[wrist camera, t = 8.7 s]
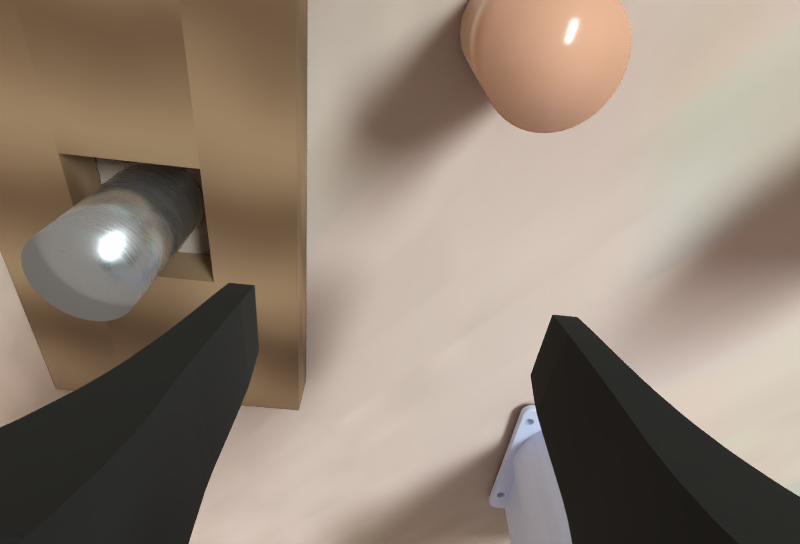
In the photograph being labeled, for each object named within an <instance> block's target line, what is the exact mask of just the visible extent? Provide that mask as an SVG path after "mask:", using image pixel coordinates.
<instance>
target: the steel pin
mask: <svg viewBox="0 0 800 544" xmlns="http://www.w3.org/2000/svg"><path fill="white" fill-rule="evenodd" d="M204 209H205V206H204V198H203V195H202V192H201V190H200V188H199V186H198V185H197V183H196V182H195V181H194V179H193V178H192V177H191V176H190V175H189V174H188V173H187V172H185V171H184V170H183V169H181V168H180V167H178V166H169V165H160V164H150V163H141V162H133V163H131V164H130V165H128V166H127V167H126V168H124V169H123V170H121V171H120V172H119V173H117V174H116V175H115V176H113V177H112V178H111V179H109V180H108V181H107V182H105V183H104V184H103V185H101V186H100V187H99V188H97V189H96V190H95V191H93V192H92V193H91V194H89V195H88V196H87V197H85V198H84V199H83V200H81V201H80V202H79V203H77V204H76V205H75V206H73V207H72V208H70V209H69V210H68V211H66V212H65V213H64V214H62V215H61V216H60V217H58V218H57V219H56V220H54V221H53V222H52V223H50V224H49V225H48V226H46V227H45V228H44V229H42V230H41V231H40V232H38V233H37V234H36V235H34V236H33V237H32V238H31V239H29V240H28V241H27V243H26V244H25V246H24V248H23V250H22V254H21V263H22V268H23V272H24V274H25V276H26V278H27V280H28V282H29V283H30V285H31V286H32V287H33V289H34V290H35V291H36V292H37V293H38V294H39V295H40V296H41V297H42V298H43V299H44V300H46V301H47V302H48V303H50V304H51V305H52V306H54V307H56V308H57V309H59V310H61V311H63V312H65V313H67V314H69V315H72V316H75V317H78V318H81V319H86V320H92V321H109V320H114V319H117V318H120V317H122V316H124V315H126V314H127V313H128V312H129V311H130V310H131V309H132V308H133V307H134V306H135V304H136V303H137V302H138V301H139V299H140V298H141V297H142V296H143V294H144V293H145V292H146V290H147V289H148V288H149V287H150V285H151V284H152V283H153V282H154V280H155V279H156V278H157V276H158V275H159V274H160V273H161V271H162V270H163V269H164V268H165V266H166V265H167V264H168V263H169V261H170V260H171V259H172V257H173V256H174V255H175V254H176V252H177V251H178V250H179V249H180V247H181V246H182V245H183V243H184V242H185V241H186V240H187V238H188V237H189V236H190V235H191V233H192V232H193V231H194V229H195V228H196V227H197V226H198V224H199V223H200V222H201V220H202V218H203V215H204Z"/></svg>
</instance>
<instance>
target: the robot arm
mask: <svg viewBox="0 0 800 544" xmlns="http://www.w3.org/2000/svg"><path fill="white" fill-rule="evenodd" d="M258 352H259V341H258V326H257V311H256V297H255V285H248V284H237V283H228V284H227V285H225V286H224V287H223V288H221V289H220V290H219V291H217V292H216V293H215V294H214V295H212V296H211V297H210V298H209V299H207V300H206V301H205V302H204V303H203V304H201V305H200V306H199V307H198V308H196V309H195V310H194V311H193V312H191V313H190V314H189V315H188V316H186V317H185V318H184V319H182V320H181V321H180V322H179V323H177V324H176V325H175V326H173V327H172V328H171V329H169V330H168V331H167V332H166V333H164V334H163V335H162V336H160V337H159V338H157V339H156V340H154V341H153V342H152V343H150V344H149V345H147V346H146V347H144V348H143V349H142V350H140V351H139V352H137V353H136V354H134V355H133V356H132V357H130V358H129V359H127V360H126V361H124V362H122V363H121V364H119V365H118V366H116V367H115V368H113V369H111V370H110V371H108V372H107V373H105V374H103V375H101V376H100V377H98V378H96V379H95V380H93V381H91V382H89V383H88V384H86V385H84V386H83V387H81V388H79V389H77V390H75V391H73V392H72V393H70V394H68V395H66V396H64V397H62V398H60V399H58V400H56V401H54V402H52V403H50V404H48V405H46V406H44V407H42V408H40V409H38V410H36V411H34V412H32V413H30V414H28V415H26V416H24V417H22V418H20V419H18V420H16V421H14V422H12V423H10V424H7V425H5V426H3V427H1V428H0V544H189V540H190V537H191V534H192V530H193V527H194V524H195V521H196V518H197V515H198V512H199V508H200V505H201V502H202V499H203V496H204V493H205V490H206V487H207V484H208V482H209V479H210V477H211V474H212V471H213V469H214V467H215V464H216V462H217V460H218V457H219V455H220V453H221V450H222V448H223V446H224V443H225V441H226V439H227V437H228V434H229V432H230V430H231V427H232V425H233V423H234V420H235V418H236V416H237V413H238V411H239V409H240V406H241V404H242V402H243V399H244V397H245V394H246V392H247V390H248V387H249V384H250V380H251V377H252V374H253V370H254V367H255V363H256V359H257V356H258ZM531 381H532V388H533V395H534V401H535V405H528V406H525V407H524V408H523V409H522V410H521V413H520V416H519V418H518V421H517V424H516V426H515V429H514V432H513V435H512V437H511V440H510V443H509V445H508V448H507V451H506V454H505V456H504V459H503V462H502V464H501V467H500V470H499V472H498V475H497V478H496V481H495V483H494V486H493V489H492V491H491V494H490V497H489V503H490V505H491V506H492V507H494V508H504V509H505V513H506V519H507V525H508V531H509V536H510V542H511V544H800V497H799V496H797V495H796V494H794V493H792V492H791V491H789V490H788V489H786V488H784V487H783V486H781V485H780V484H778V483H776V482H775V481H773V480H772V479H770V478H769V477H767V476H766V475H764V474H763V473H761V472H760V471H758V470H757V469H755V468H754V467H752V466H751V465H749V464H748V463H746V462H745V461H743V460H742V459H741V458H739V457H738V456H736V455H735V454H733V453H732V452H731V451H729V450H728V449H726V448H725V447H724V446H722V445H721V444H720V443H718V442H717V441H716V440H714V439H713V438H712V437H710V436H709V435H708V434H707V433H705V432H704V431H703V430H701V429H700V428H699V427H697V426H696V425H695V424H693V423H692V422H691V421H690V420H688V419H687V418H686V417H685V416H684V415H682V414H681V413H680V412H679V411H678V410H676V409H675V408H674V407H673V406H672V405H671V404H669V403H668V402H667V401H666V400H665V399H664V398H662V397H661V396H660V395H659V394H658V393H657V392H656V391H654V390H653V389H652V388H651V387H650V386H649V385H648V384H647V383H646V382H644V381H643V380H642V379H641V378H640V377H639V376H638V375H637V374H636V373H635V372H634V371H633V370H632V369H631V368H630V367H629V366H628V365H626V364H625V363H624V362H623V361H622V360H621V359H620V358H619V357H618V356H617V355H616V354H615V353H614V352H613V351H612V350H611V349H610V348H609V347H608V346H607V345H606V344H605V343H604V342H603V341H602V340H601V339H600V338H599V337H598V336H597V335H596V334H595V333H594V332H593V331H592V330H591V329H590V328H588V327H587V326H586V325H585V324H584V323H583V322H582V321H581V320H580V319H579V318H577V317H570V316H560V315H552V318H551V320H550V323H549V326H548V329H547V331H546V334H545V337H544V340H543V342H542V345H541V348H540V351H539V353H538V356H537V359H536V362H535V364H534V367H533V370H532V373H531ZM527 419H528V420H527Z"/></svg>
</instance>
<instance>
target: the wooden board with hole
mask: <svg viewBox="0 0 800 544" xmlns="http://www.w3.org/2000/svg"><path fill="white" fill-rule="evenodd" d="M95 157H96V158H105V159H114V160H123V161H132V162H141V163H150V164H160V165H169V166H178V167H187V168H196V169H200V174H201V182H202V190H203V198H204V206H205V214H206V222H207V230H208V238H209V246H210V254H211V256H210V255H201V254H191V253H181V252H176V254H175V255H174V256H173V257H172V259H171V260H170V261H169V263H168V264H167V265H166V266H165V268H164V269H163V270H162V271H161V273H160V274H159V275H158V276H157V278H156V279H155V280H154V282H153V283H152V284H151V285H150V287H149V288H148V289H147V290H146V292H145V293H144V294H143V296H142V297H141V298H140V299H139V301H138V302H137V303H136V304H135V306H134V307H133V308H132V309H131V310H130V311H129V312H128V313H127V314H126V315H124V316H122V317H120V318H117V319H114V320H109V321H92V320H86V319H81V318H78V317H75V316H72V315H69V314H67V313H65V312H63V311H61V310H59V309H57V308H56V307H54V306H52V305H51V304H50V303H48V302H47V301H46V300H44V299H43V298H42V297H41V296H40V295H39V294H38V293H37V292H36V291H35V290H34V289H33V287H32V286H31V285H30V283H29V282H28V280H27V278H26V276H25V274H24V272H23V268H22V263H21V254H22V250H23V248H24V246H25V244H26V243H27V241H28V240H29V239H31V238H32V237H33V236H34V235H36V234H37V233H38V232H40V231H41V230H42V229H44V228H45V227H46V226H48V225H49V224H50V223H52V222H53V221H54V220H56V219H57V218H58V217H60V216H61V215H62V214H64V213H65V212H66V211H68V210H69V209H70V208H72V207H73V206H75V205H76V204H77V203H79V202H80V201H81V200H83V199H84V198H85V197H87V196H88V195H89V194H91V193H92V192H93V191H95V190H96V189H97V188H99V187H100V186H101V181H100V177H99V172H98V168H97V164H96V160H95ZM306 222H307V0H0V251H1V254H2V256H3V259H4V261H5V264H6V266H7V269H8V271H9V274H10V276H11V279H12V281H13V284H14V286H15V288H16V291H17V293H18V296H19V298H20V301H21V303H22V306H23V308H24V311H25V313H26V316H27V318H28V321H29V323H30V326H31V328H32V331H33V333H34V336H35V338H36V341H37V343H38V346H39V348H40V351H41V353H42V355H43V358H44V360H45V363H46V365H47V368H48V370H49V373H50V375H51V378H52V380H53V383H54V385H55V388H56V389H62V390H73V391H75V390H77V389H79V388H81V387H83V386H84V385H86V384H88V383H89V382H91V381H93V380H95V379H96V378H98V377H100V376H101V375H103V374H105V373H107V372H108V371H110V370H111V369H113V368H115V367H116V366H118V365H119V364H121V363H122V362H124V361H126V360H127V359H129V358H130V357H132V356H133V355H134V354H136V353H137V352H139V351H140V350H142V349H143V348H144V347H146V346H147V345H149V344H150V343H152V342H153V341H154V340H156V339H157V338H159V337H160V336H162V335H163V334H164V333H166V332H167V331H168V330H169V329H171V328H172V327H173V326H175V325H176V324H177V323H179V322H180V321H181V320H182V319H184V318H185V317H186V316H188V315H189V314H190V313H191V312H193V311H194V310H195V309H196V308H198V307H199V306H200V305H201V304H203V303H204V302H205V301H206V300H207V299H209V298H210V297H211V296H212V295H214V294H215V293H216V292H217V291H219V290H220V289H221V288H223V287H224V286H225V285H227V284H228V283H237V284H248V285H255V297H256V311H257V326H258V341H259V352H258V356H257V359H256V363H255V367H254V370H253V374H252V377H251V380H250V384H249V387H248V390H247V392H246V394H245V397H244V399H243V402H242V404H241V405H245V406H256V407H268V408H279V409H290V410H299V407H300V403H301V399H302V395H303V391H304V387H305V383H306Z"/></svg>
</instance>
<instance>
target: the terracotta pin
mask: <svg viewBox="0 0 800 544" xmlns="http://www.w3.org/2000/svg"><path fill="white" fill-rule="evenodd" d="M460 42H461V47H462V51H463V54H464V56H465V59H466V60H467V62H468V64H469V66H470V67H471V69H472V71H473V72H474V74H475V76H476V78H477V79H478V81H479V83H480V84H481V86H482V88H483V90H484V91H485V93H486V95H487V96H488V98H489V100H490V102H491V103H492V105H493V107H494V108H495V109H496V111H497V112H498V113H499V114H500V115H501V116H502V117H503V118H504V119H505V120H506V121H508V122H509V123H511V124H512V125H514V126H516V127H518V128H520V129H523V130H526V131H530V132H536V133H551V132H558V131H563V130H566V129H569V128H572V127H574V126H576V125H578V124H580V123H582V122H584V121H585V120H587V119H589V118H590V117H591V116H593V115H594V114H595V113H596V112H598V111H599V110H600V109H601V108H602V107H603V106H604V105H605V104H606V103H607V101H608V100H609V99H610V98H611V97H612V95H613V94H614V92H615V91H616V89H617V88H618V86H619V84H620V82H621V80H622V78H623V76H624V73H625V71H626V68H627V65H628V61H629V57H630V51H631V30H630V24H629V20H628V16H627V14H626V11H625V9H624V7H623V5H622V4H621V2H620V0H469V2H468V4H467V6H466V8H465V10H464V13H463V16H462V20H461V26H460Z"/></svg>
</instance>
